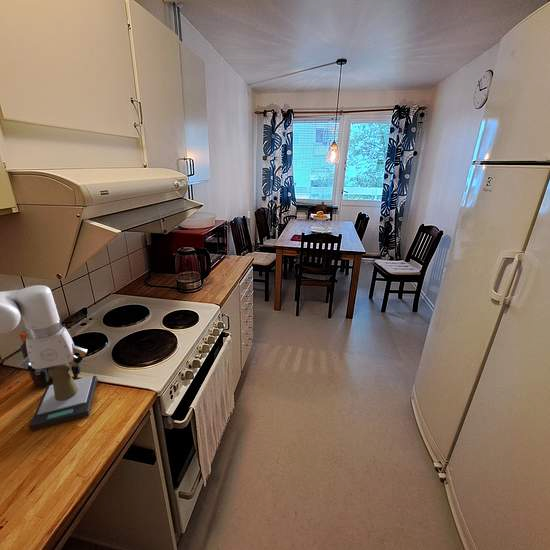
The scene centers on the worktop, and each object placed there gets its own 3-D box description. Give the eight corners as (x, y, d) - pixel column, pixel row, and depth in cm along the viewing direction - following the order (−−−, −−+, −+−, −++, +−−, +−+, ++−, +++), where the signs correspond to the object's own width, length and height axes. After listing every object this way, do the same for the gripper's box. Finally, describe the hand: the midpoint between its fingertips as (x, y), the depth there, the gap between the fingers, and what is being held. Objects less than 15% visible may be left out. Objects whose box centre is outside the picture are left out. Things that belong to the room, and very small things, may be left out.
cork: (50, 397, 87) (39, 368, 83) (69, 384, 93) (60, 356, 88) (64, 403, 85) (54, 374, 81) (82, 389, 91) (74, 361, 87)
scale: (31, 431, 79) (28, 424, 78) (48, 391, 93) (46, 385, 92) (89, 416, 84) (87, 409, 83) (97, 379, 98) (96, 374, 97)
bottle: (42, 390, 93) (23, 338, 86) (29, 384, 96) (9, 333, 88) (63, 376, 99) (47, 327, 92) (50, 371, 102) (34, 323, 94)
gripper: (0, 342, 74) (21, 395, 80) (78, 329, 80) (92, 379, 87) (12, 327, 80) (31, 377, 87) (83, 316, 86) (96, 363, 93)
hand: (61, 378), depth 87 cm, fingers open, 7 cm apart
